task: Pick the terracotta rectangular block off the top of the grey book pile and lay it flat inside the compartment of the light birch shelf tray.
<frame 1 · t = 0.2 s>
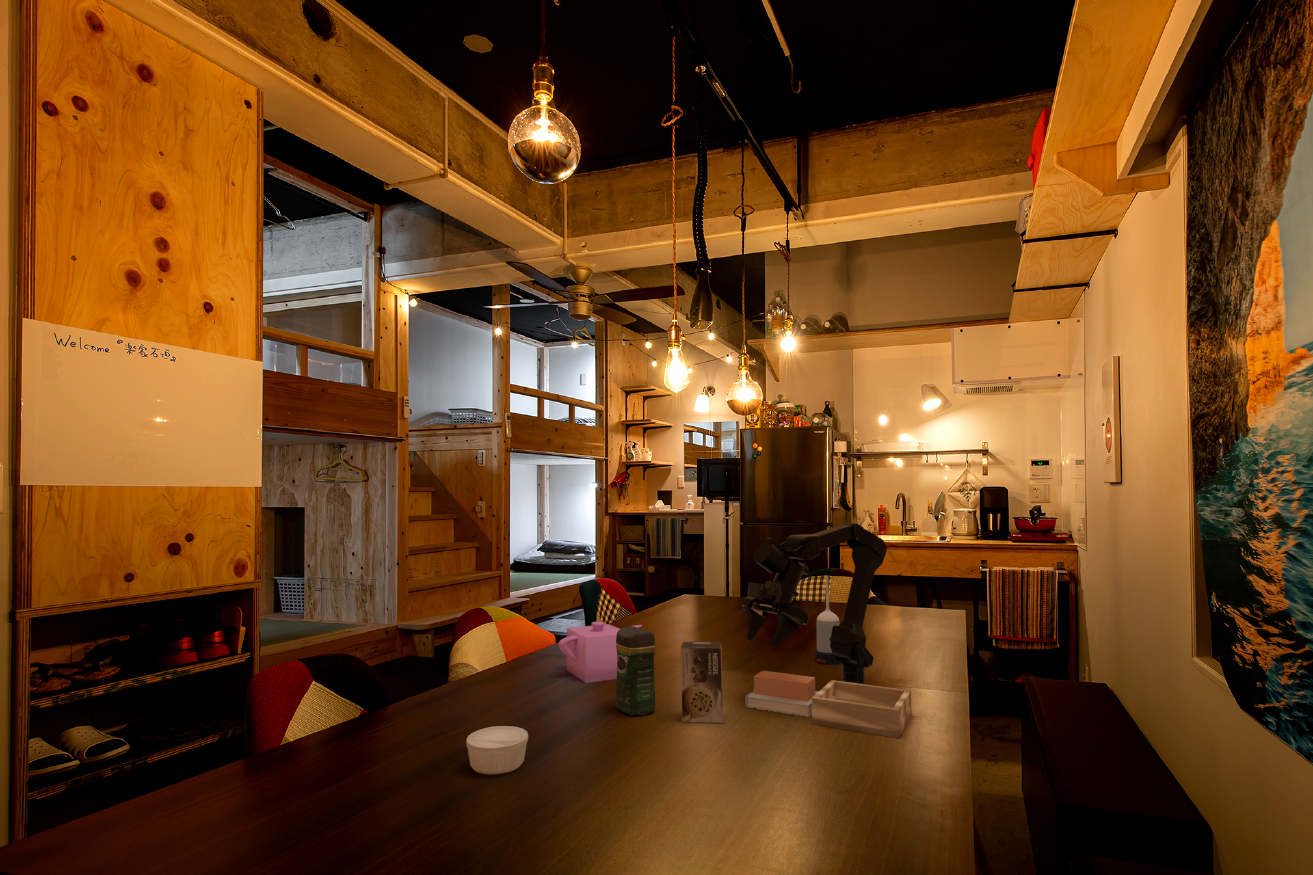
hand: (760, 643, 162), 15 cm above the table, tool tilted 30°, fingers open, 9 cm apart
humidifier: (828, 662, 205), on the table
coffee jar: (635, 710, 160), on the table
teapot: (601, 673, 193), on the table
shelf tray: (862, 719, 153), on the table
ramekin: (497, 766, 128), on the table
terracotta rectangular block: (784, 694, 164), point 2 cm above the table, touching book pile base
book pile base: (784, 704, 163), on the table
coffee box: (702, 719, 154), on the table
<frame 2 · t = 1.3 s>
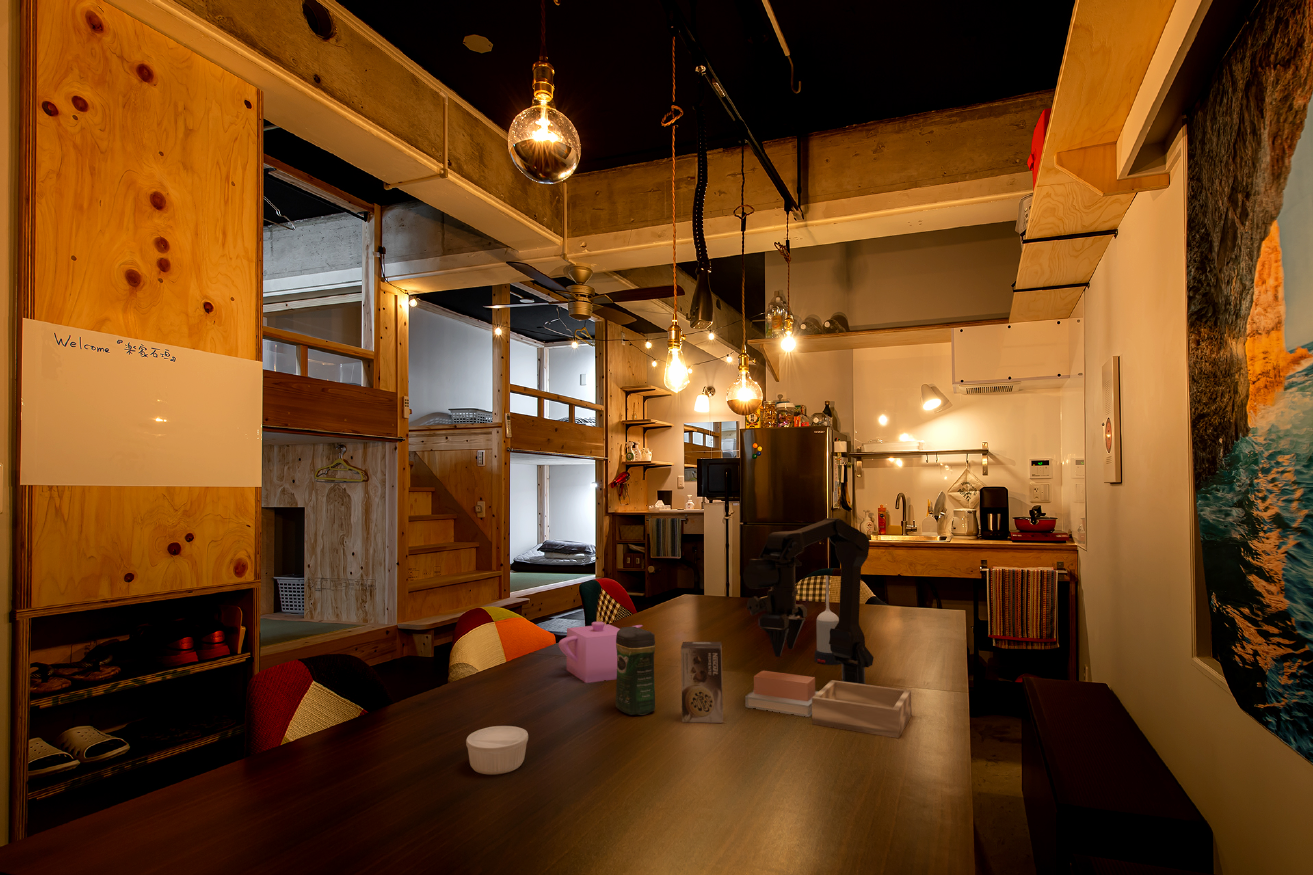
hand: (784, 652, 164), 12 cm above the table, tool pointing down, fingers open, 9 cm apart
nothing on the table moved.
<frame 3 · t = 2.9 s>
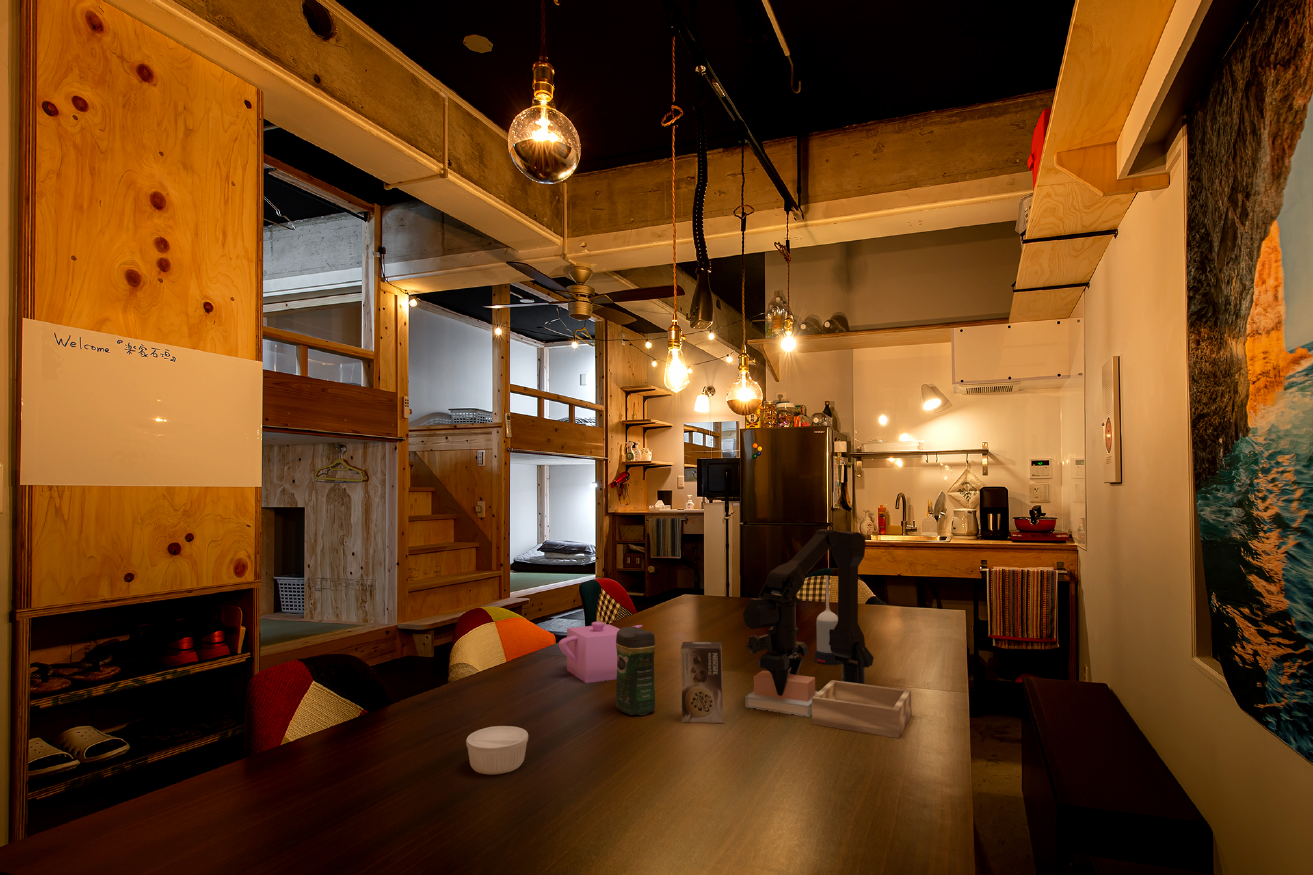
hand: (784, 691, 164), 3 cm above the table, tool pointing down, fingers closed on terracotta rectangular block, 6 cm apart
terracotta rectangular block: (784, 694, 164), point 2 cm above the table, touching book pile base, gripper
everything else where it was.
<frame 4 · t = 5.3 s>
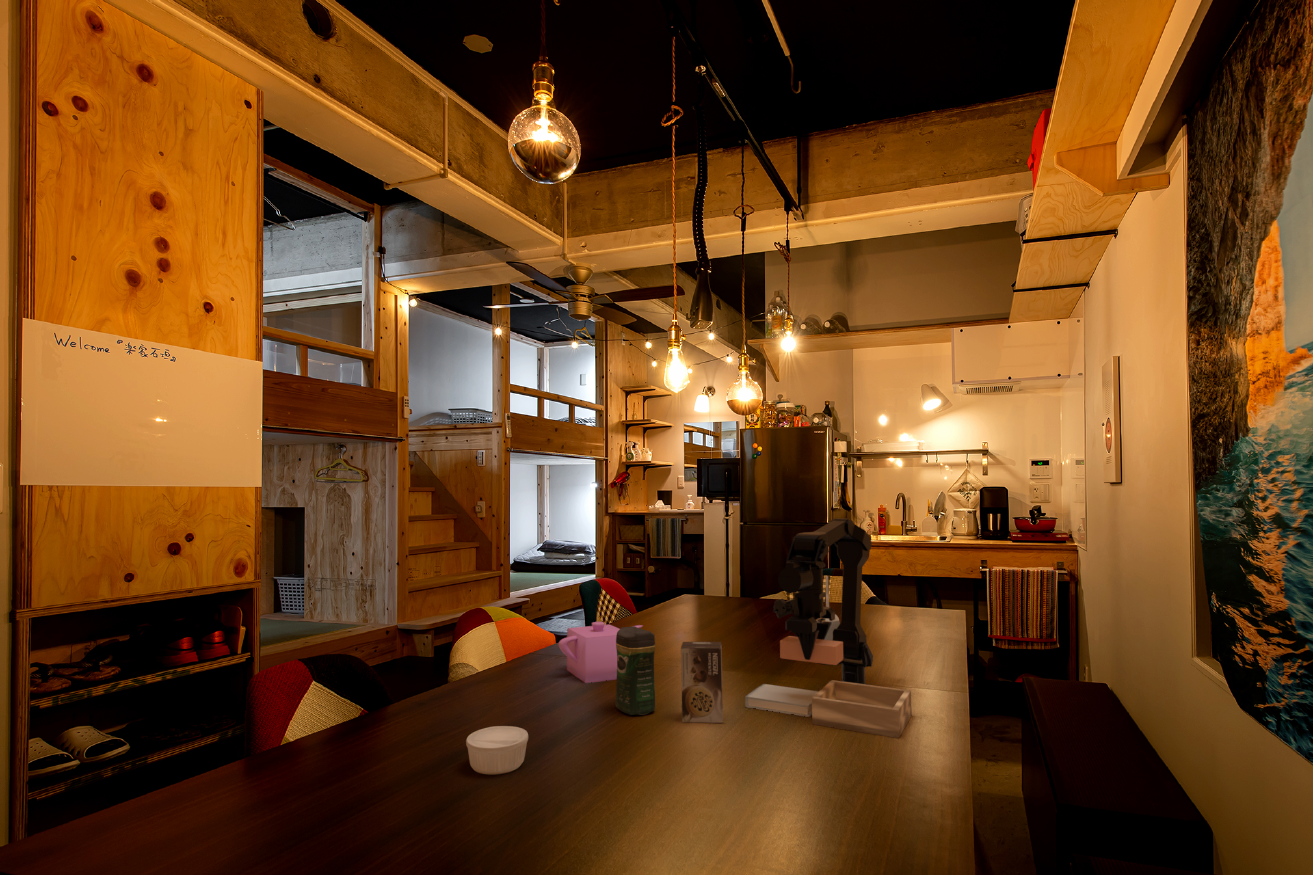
hand: (811, 656, 161), 12 cm above the table, tool pointing down, fingers closed on terracotta rectangular block, 6 cm apart
terracotta rectangular block: (811, 658, 160), point 12 cm above the table, touching gripper
everything else where it was.
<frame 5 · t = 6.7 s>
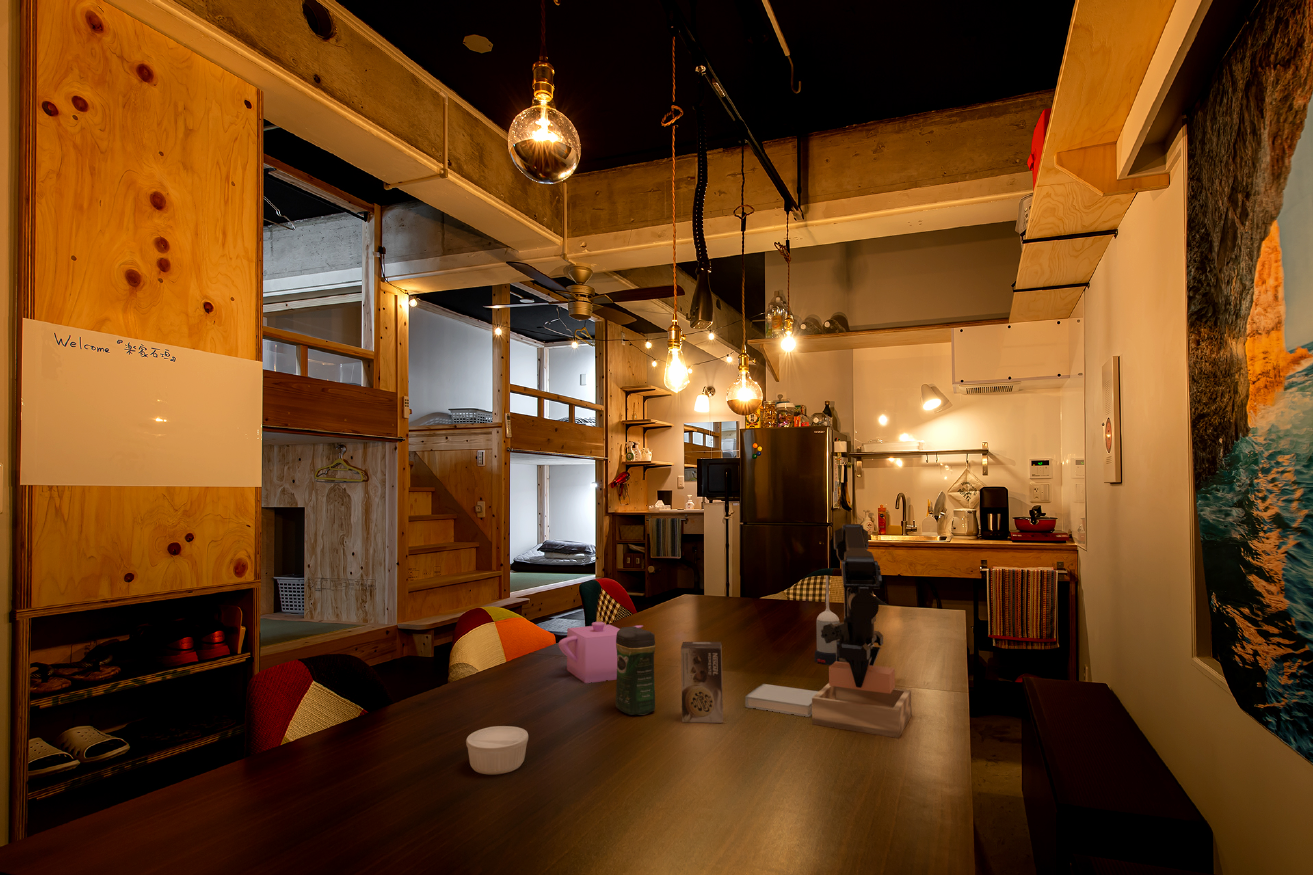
hand: (862, 683, 154), 8 cm above the table, tool pointing down, fingers closed on terracotta rectangular block, 6 cm apart
terracotta rectangular block: (862, 685, 154), point 7 cm above the table, touching gripper
everything else where it was.
when the fingers open (3 cm above the table, at t = 8.0 s): terracotta rectangular block drops 1 cm, resting on shelf tray.
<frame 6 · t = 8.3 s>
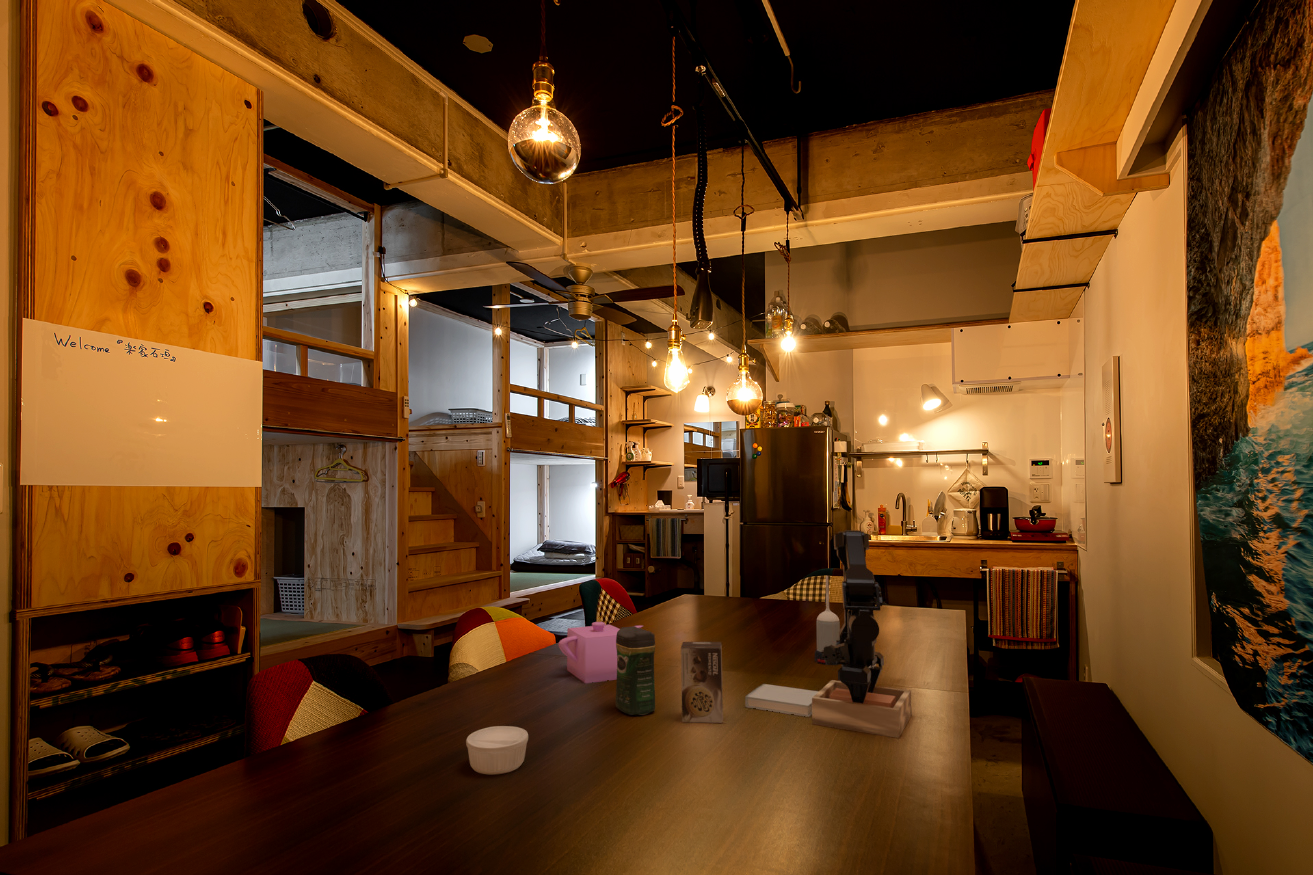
hand: (862, 705, 153), 3 cm above the table, tool pointing down, fingers open, 9 cm apart
terracotta rectangular block: (862, 713, 153), point 1 cm above the table, touching shelf tray
everything else where it was.
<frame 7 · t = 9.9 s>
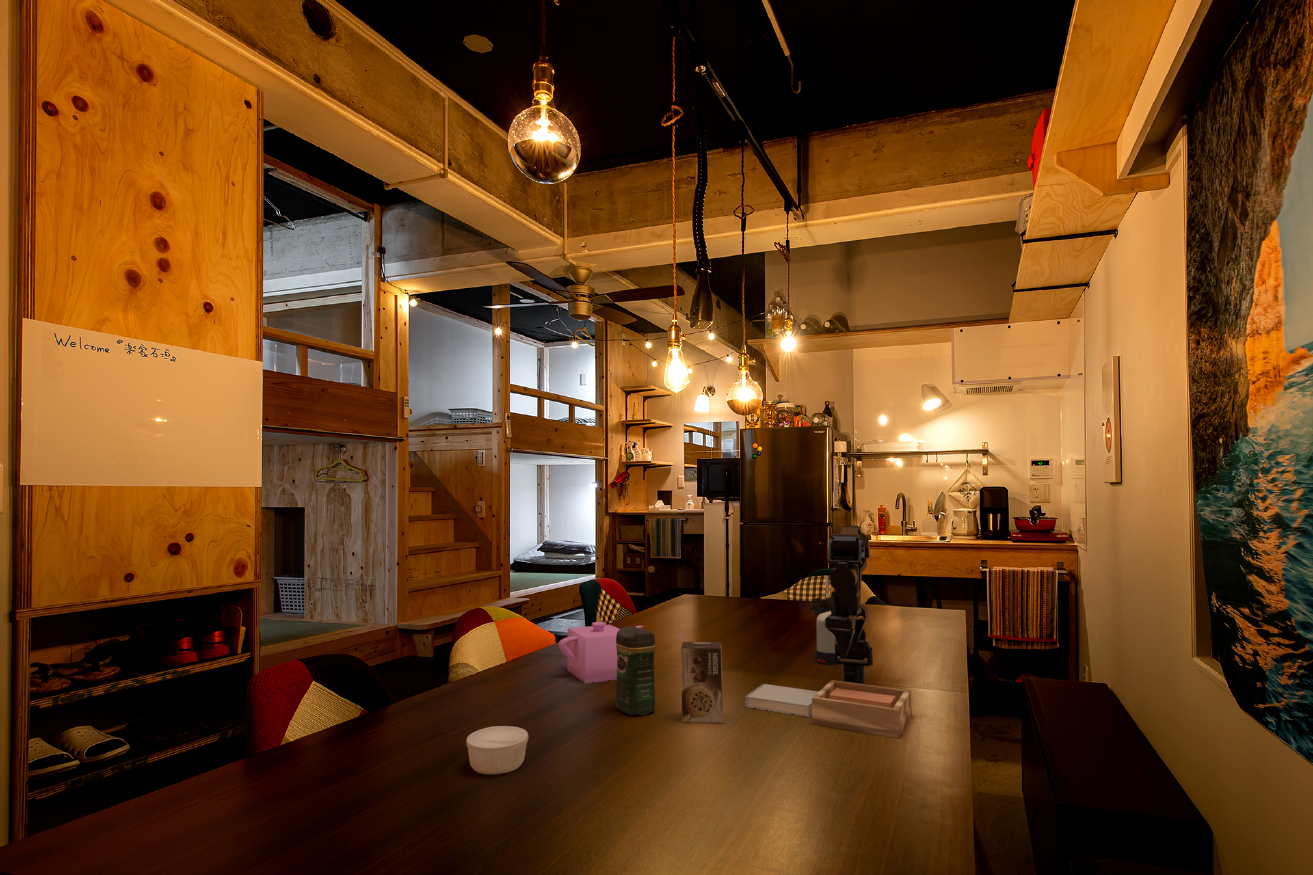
hand: (848, 653, 165), 12 cm above the table, tool pointing down, fingers open, 9 cm apart
nothing on the table moved.
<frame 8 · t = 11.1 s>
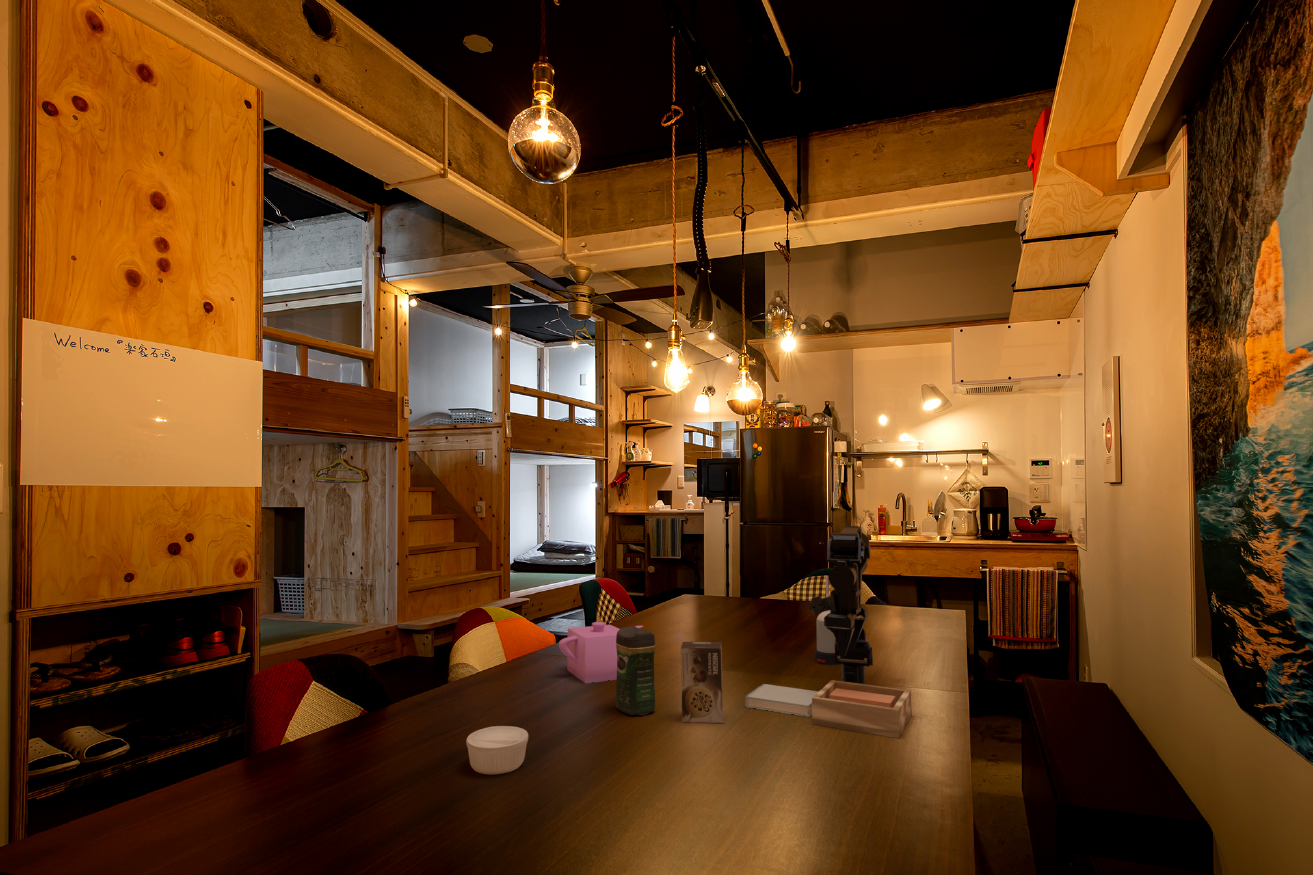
hand: (847, 652, 165), 12 cm above the table, tool pointing down, fingers open, 9 cm apart
nothing on the table moved.
at the end: terracotta rectangular block 0.0 cm off-centre on the shelf tray, point 1.2 cm above the shelf tray's base; terracotta rectangular block tilted 0°; the gripper is holding nothing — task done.
